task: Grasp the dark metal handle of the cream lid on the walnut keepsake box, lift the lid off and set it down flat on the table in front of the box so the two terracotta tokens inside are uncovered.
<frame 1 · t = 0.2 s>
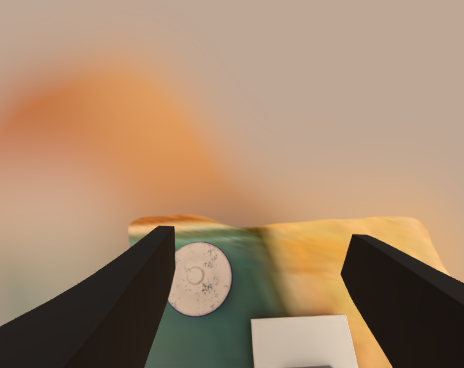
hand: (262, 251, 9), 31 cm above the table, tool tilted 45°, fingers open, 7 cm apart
teacup with lid: (195, 280, 37), on the table
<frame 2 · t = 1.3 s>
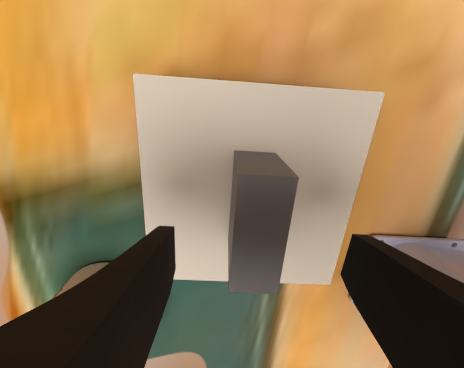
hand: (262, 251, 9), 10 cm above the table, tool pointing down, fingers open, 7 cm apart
teacup with lid: (118, 303, 23), on the table
cream lid: (248, 193, 15), point 4 cm above the table, touching walnut box
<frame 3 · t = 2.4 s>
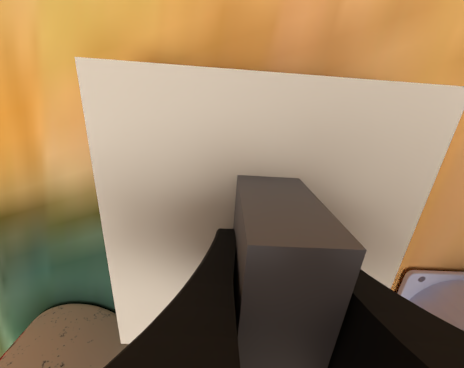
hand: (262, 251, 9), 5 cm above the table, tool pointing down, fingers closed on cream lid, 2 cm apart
teacup with lid: (93, 348, 19), on the table
cream lid: (257, 232, 10), point 4 cm above the table, touching gripper, walnut box
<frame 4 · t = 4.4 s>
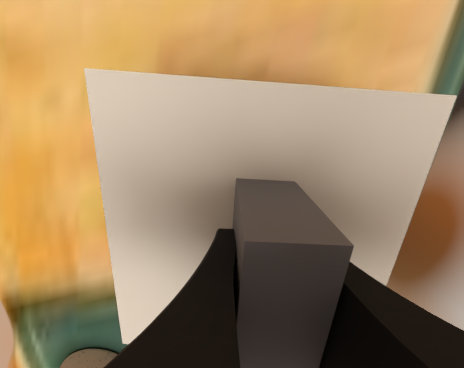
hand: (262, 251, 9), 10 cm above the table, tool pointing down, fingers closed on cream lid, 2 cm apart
cream lid: (255, 233, 11), point 9 cm above the table, touching gripper
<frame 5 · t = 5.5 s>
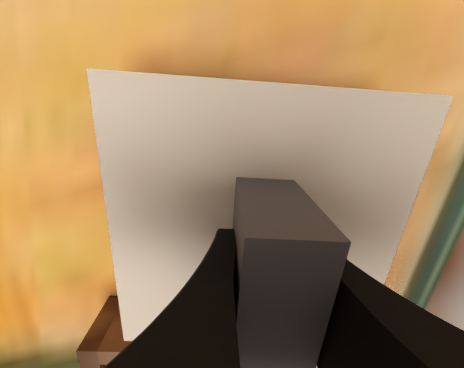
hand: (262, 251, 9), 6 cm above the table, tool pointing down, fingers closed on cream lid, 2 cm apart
walnut box: (188, 350, 19), on the table
cream lid: (255, 231, 11), point 4 cm above the table, touching gripper
when the fingers open (3 cm above the table, at t = 6.2 s): cream lid drops 1 cm, on the table.
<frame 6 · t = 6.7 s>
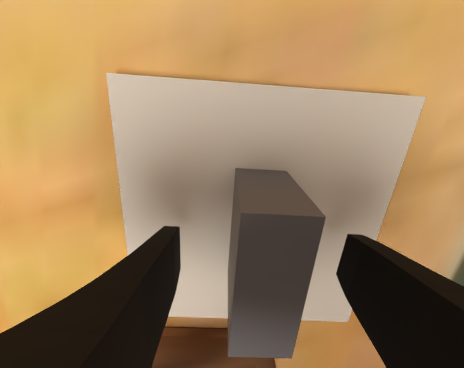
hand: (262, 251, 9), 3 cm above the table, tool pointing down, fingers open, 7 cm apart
cream lid: (252, 217, 12), on the table
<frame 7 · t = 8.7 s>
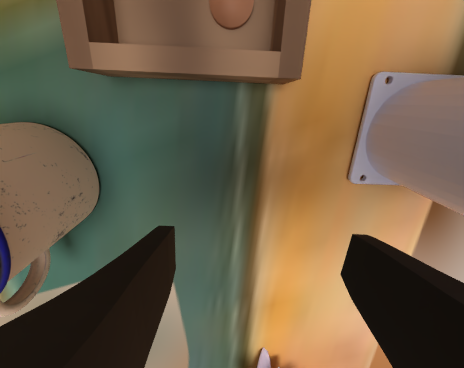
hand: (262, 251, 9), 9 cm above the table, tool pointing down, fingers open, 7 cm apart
teacup with lid: (53, 193, 18), on the table
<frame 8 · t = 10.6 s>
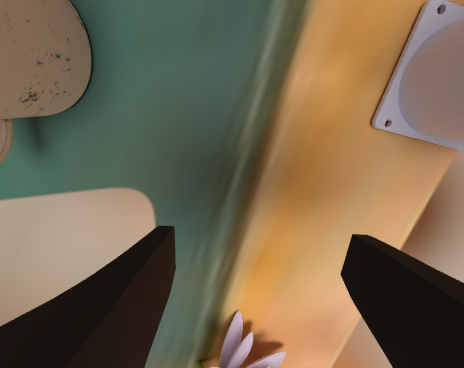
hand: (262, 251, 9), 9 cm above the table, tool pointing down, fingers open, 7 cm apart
water lily: (238, 349, 25), on the table
teacup with lid: (31, 71, 15), on the table
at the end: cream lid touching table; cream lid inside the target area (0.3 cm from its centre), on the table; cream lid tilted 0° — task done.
